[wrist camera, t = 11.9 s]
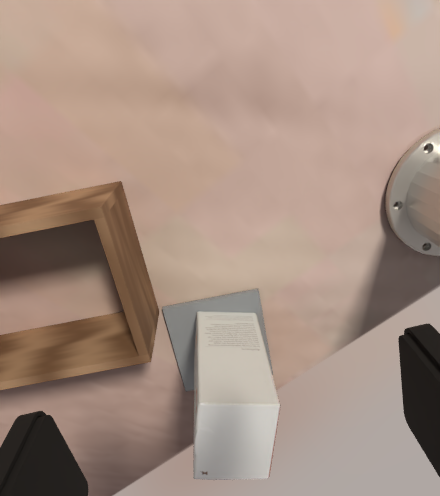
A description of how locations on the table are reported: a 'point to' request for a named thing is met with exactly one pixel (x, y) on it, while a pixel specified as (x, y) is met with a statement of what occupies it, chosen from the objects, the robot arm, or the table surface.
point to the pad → (184, 325)
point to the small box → (232, 398)
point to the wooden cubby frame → (92, 329)
